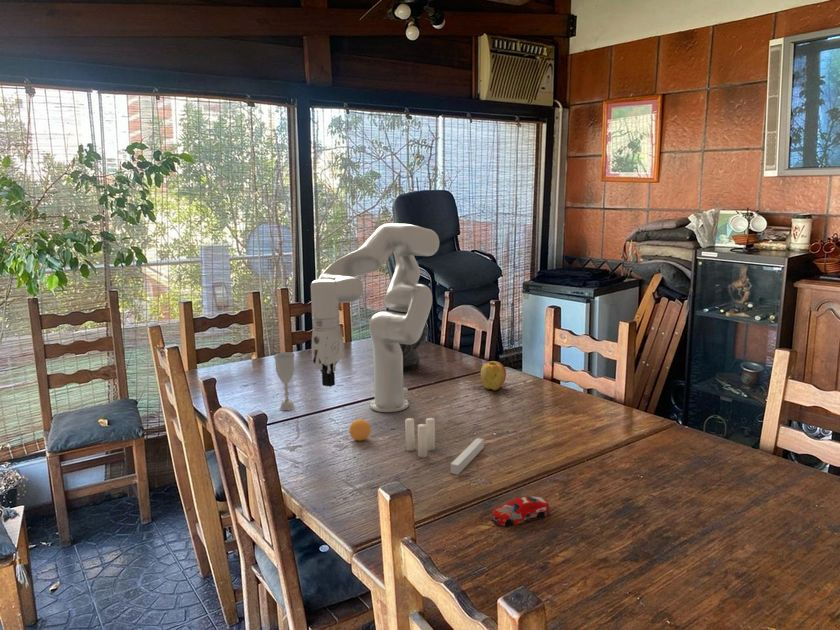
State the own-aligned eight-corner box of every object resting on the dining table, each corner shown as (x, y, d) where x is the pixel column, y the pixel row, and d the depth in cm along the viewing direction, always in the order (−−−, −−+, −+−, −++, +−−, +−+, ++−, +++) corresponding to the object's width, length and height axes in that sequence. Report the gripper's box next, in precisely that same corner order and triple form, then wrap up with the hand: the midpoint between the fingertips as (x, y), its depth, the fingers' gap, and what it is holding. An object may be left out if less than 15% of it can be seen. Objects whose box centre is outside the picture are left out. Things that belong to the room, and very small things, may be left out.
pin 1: (420, 453, 168) (420, 423, 166) (428, 454, 167) (428, 424, 165) (416, 456, 166) (416, 426, 164) (424, 458, 165) (424, 427, 163)
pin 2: (428, 446, 173) (428, 417, 171) (436, 447, 172) (436, 418, 170) (424, 449, 170) (424, 420, 169) (432, 451, 169) (432, 421, 168)
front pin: (408, 446, 173) (407, 417, 171) (416, 448, 171) (415, 418, 170) (404, 450, 170) (403, 420, 169) (412, 451, 169) (411, 421, 168)
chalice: (292, 412, 201) (289, 358, 197) (273, 411, 202) (269, 357, 199) (301, 404, 208) (298, 352, 204) (282, 403, 209) (279, 351, 206)
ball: (357, 434, 182) (356, 414, 181) (374, 437, 179) (374, 417, 178) (345, 441, 177) (344, 421, 175) (363, 445, 174) (363, 425, 173)
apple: (511, 389, 220) (511, 362, 218) (491, 394, 215) (492, 366, 213) (494, 383, 228) (494, 356, 226) (475, 387, 223) (475, 360, 221)
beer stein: (378, 361, 259) (376, 302, 254) (424, 359, 261) (423, 300, 256) (379, 373, 243) (378, 310, 238) (429, 370, 245) (428, 308, 240)
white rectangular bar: (476, 446, 172) (476, 438, 171) (483, 447, 171) (483, 439, 171) (450, 473, 156) (450, 463, 156) (458, 474, 155) (458, 465, 155)
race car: (499, 530, 130) (499, 513, 129) (487, 518, 135) (487, 501, 134) (553, 518, 135) (553, 501, 134) (540, 506, 140) (540, 490, 139)
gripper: (321, 329, 167) (324, 394, 171) (351, 319, 181) (353, 379, 184) (298, 327, 171) (302, 391, 174) (329, 317, 184) (332, 376, 187)
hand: (328, 385), depth 179 cm, fingers closed
